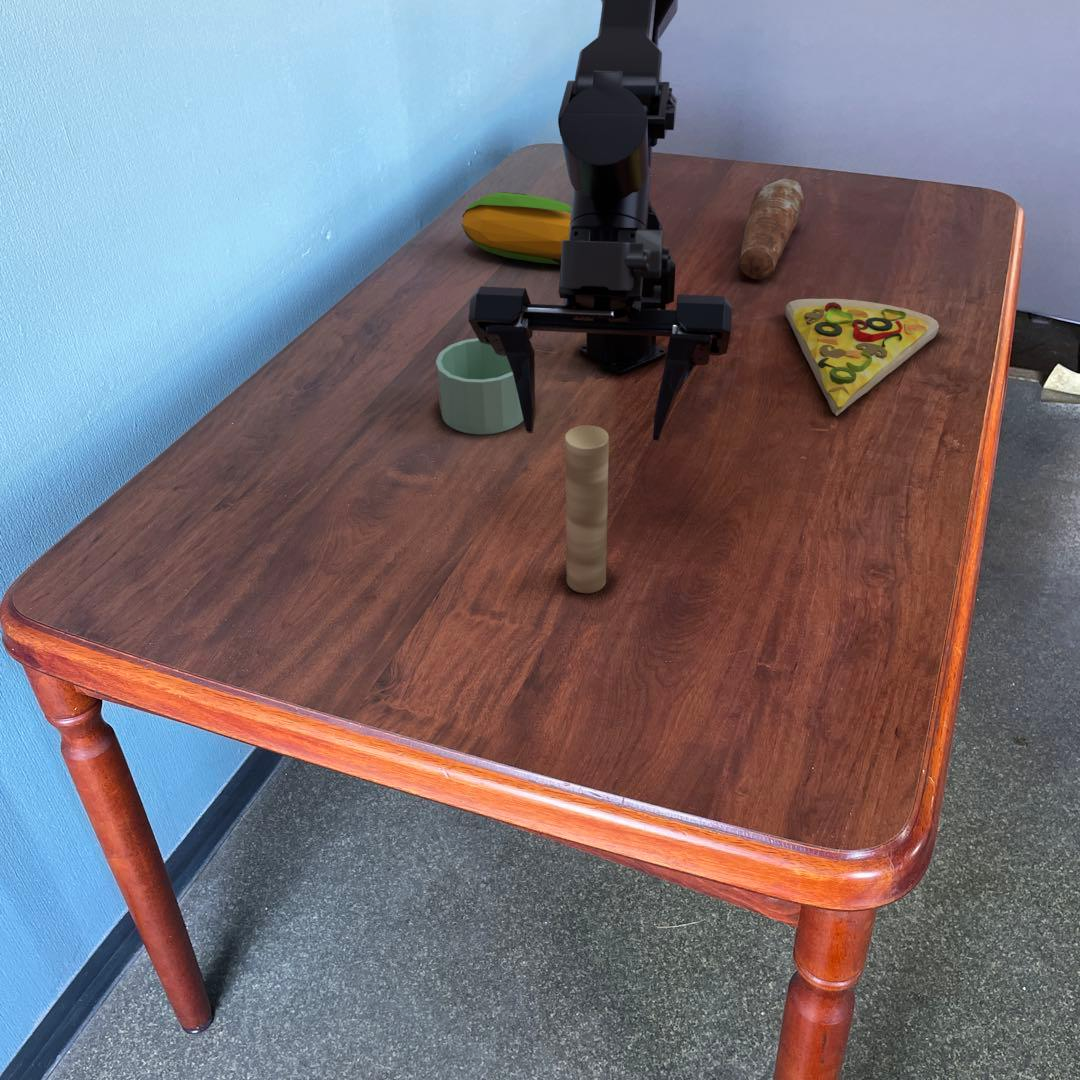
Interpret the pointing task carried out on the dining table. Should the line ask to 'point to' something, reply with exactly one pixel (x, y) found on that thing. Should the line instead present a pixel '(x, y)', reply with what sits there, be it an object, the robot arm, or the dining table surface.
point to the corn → (518, 226)
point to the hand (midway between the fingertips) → (592, 435)
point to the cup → (477, 389)
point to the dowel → (586, 507)
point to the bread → (770, 226)
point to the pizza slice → (855, 343)
